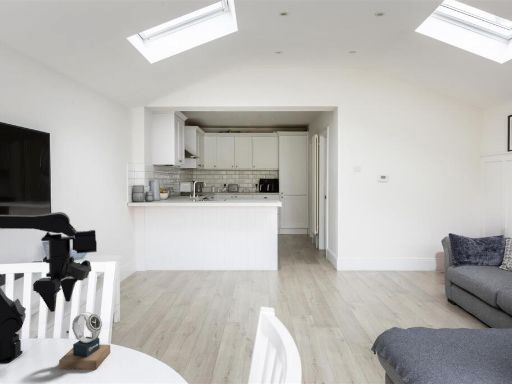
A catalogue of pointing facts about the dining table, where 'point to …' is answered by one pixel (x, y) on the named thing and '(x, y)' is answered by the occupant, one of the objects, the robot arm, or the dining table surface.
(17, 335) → the robot arm
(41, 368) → the dining table surface
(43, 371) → the dining table surface
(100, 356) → the plinth
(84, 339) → the watch
